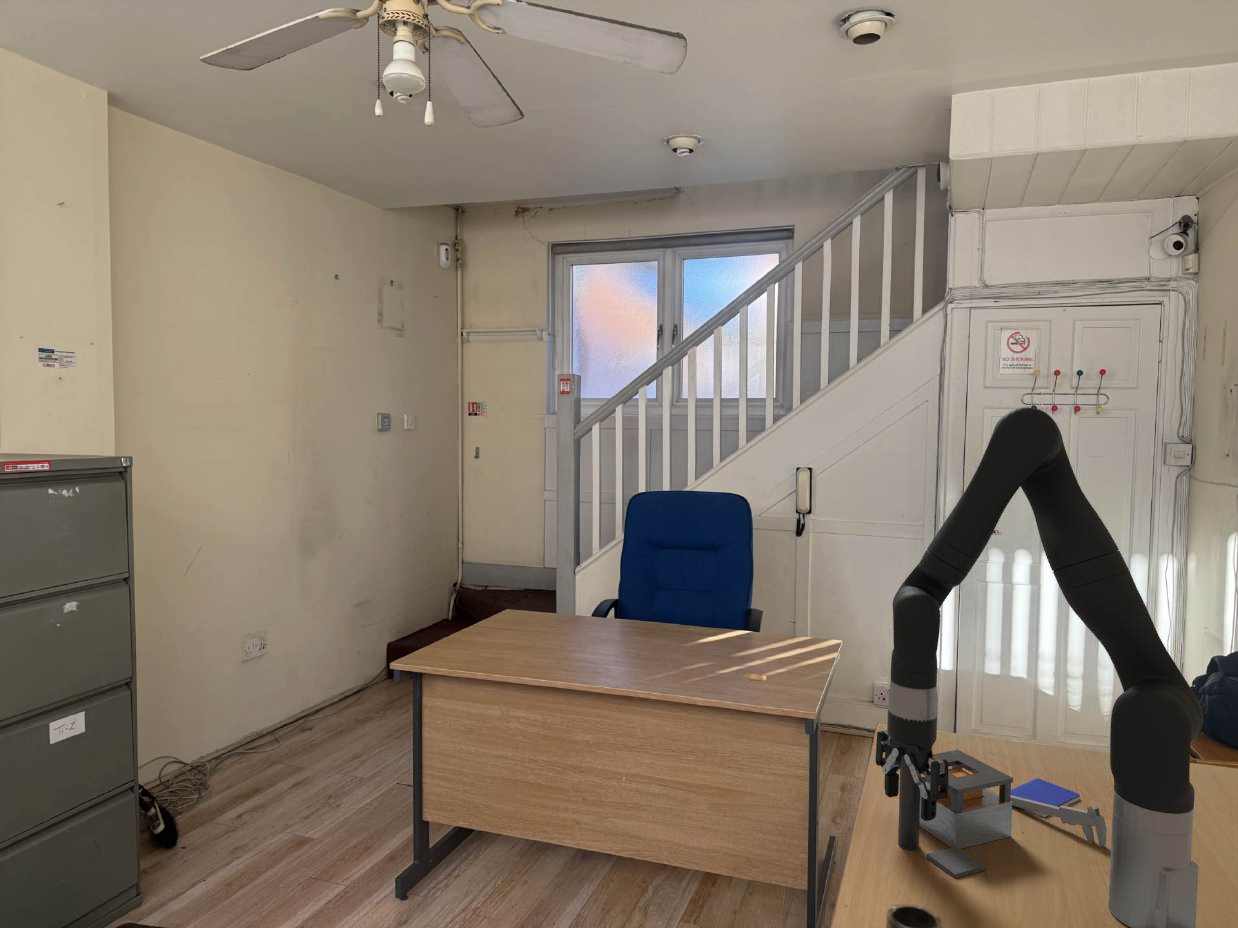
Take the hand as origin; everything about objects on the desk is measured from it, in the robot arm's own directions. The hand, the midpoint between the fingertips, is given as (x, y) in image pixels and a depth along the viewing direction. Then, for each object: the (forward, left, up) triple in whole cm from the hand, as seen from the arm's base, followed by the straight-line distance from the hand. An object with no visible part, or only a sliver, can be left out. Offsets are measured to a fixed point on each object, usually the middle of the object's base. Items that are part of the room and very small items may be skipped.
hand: (909, 807), depth 128 cm
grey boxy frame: (+2, -12, -6) cm, 14 cm away
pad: (-7, -3, -6) cm, 10 cm away
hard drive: (+4, -34, -7) cm, 35 cm away
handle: (0, 0, -6) cm, 6 cm away
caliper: (-2, -28, -7) cm, 29 cm away
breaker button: (+2, -12, -2) cm, 12 cm away
